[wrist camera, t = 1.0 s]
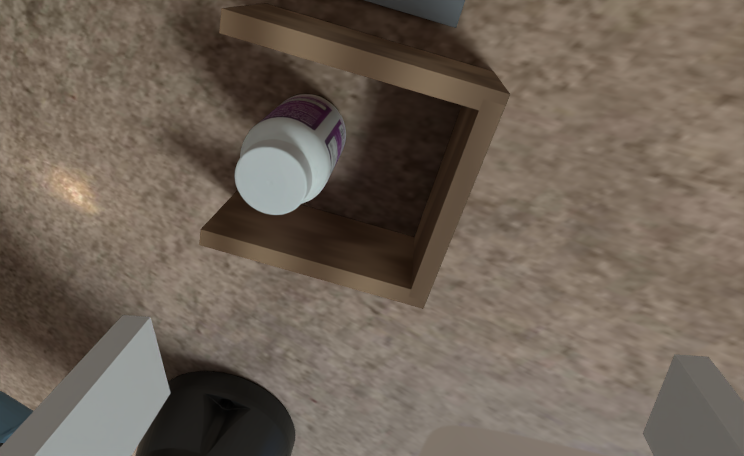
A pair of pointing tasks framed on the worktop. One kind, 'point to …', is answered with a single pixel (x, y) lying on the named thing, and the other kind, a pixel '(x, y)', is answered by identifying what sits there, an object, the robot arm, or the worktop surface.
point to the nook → (347, 236)
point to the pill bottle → (290, 154)
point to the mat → (428, 9)
